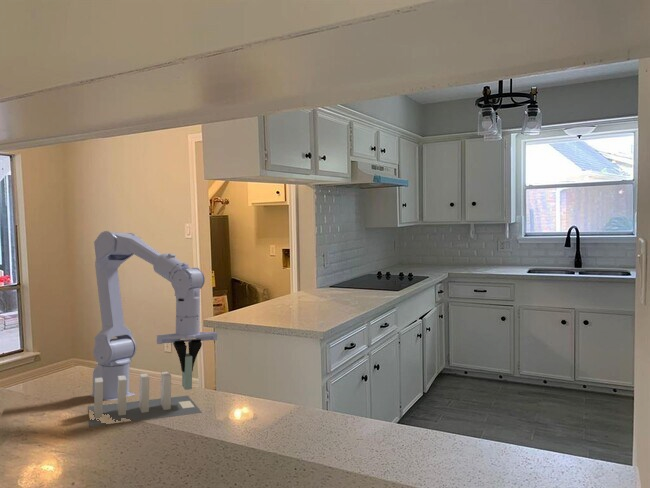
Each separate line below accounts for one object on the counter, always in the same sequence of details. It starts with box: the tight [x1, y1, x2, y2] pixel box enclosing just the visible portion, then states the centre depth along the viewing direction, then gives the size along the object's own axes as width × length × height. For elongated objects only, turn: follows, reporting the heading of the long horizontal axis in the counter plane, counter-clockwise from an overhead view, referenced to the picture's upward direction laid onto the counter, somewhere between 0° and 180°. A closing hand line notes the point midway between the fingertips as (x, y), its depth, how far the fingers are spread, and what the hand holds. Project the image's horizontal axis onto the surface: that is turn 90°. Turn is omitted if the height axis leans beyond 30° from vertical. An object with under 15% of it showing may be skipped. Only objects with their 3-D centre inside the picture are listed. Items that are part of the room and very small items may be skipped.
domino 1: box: [93, 378, 104, 418], centre depth 114 cm, size 2×5×8 cm, turn 26°
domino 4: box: [160, 371, 172, 410], centre depth 121 cm, size 2×5×8 cm, turn 26°
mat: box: [87, 395, 203, 428], centre depth 119 cm, size 24×17×1 cm
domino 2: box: [116, 375, 127, 415], centre depth 117 cm, size 2×5×8 cm, turn 26°
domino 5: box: [181, 352, 193, 391], centre depth 123 cm, size 2×5×8 cm, turn 24°
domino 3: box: [138, 373, 150, 413], centre depth 119 cm, size 2×5×8 cm, turn 26°
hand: (187, 371), depth 123 cm, fingers closed on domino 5, 1 cm apart
